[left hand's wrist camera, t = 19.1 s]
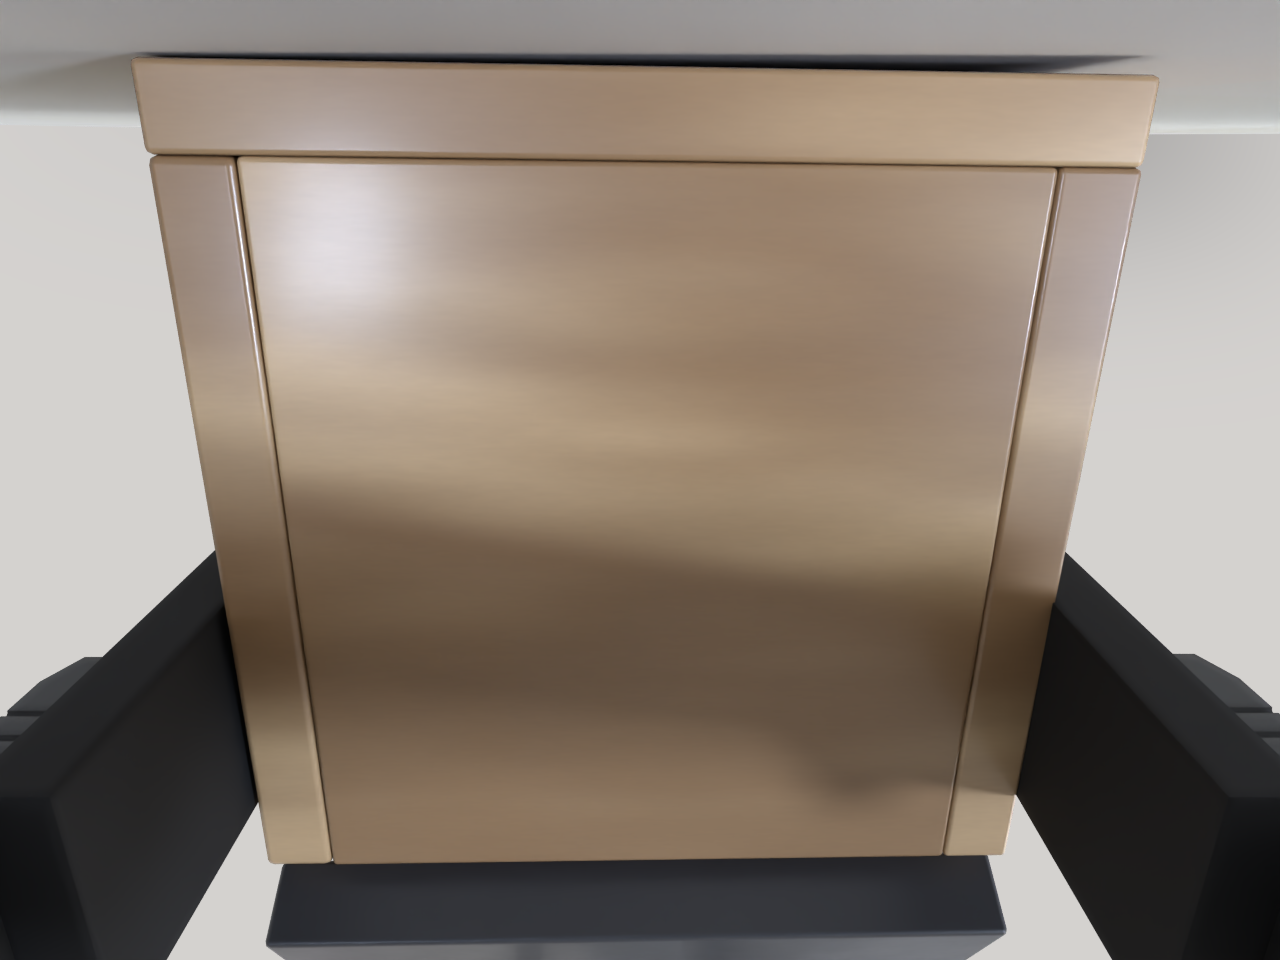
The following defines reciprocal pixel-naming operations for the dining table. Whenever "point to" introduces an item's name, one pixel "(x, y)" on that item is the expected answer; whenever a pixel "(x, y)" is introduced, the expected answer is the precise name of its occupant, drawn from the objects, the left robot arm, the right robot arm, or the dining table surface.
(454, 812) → the chest
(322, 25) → the dining table surface
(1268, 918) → the left robot arm
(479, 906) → the lid
